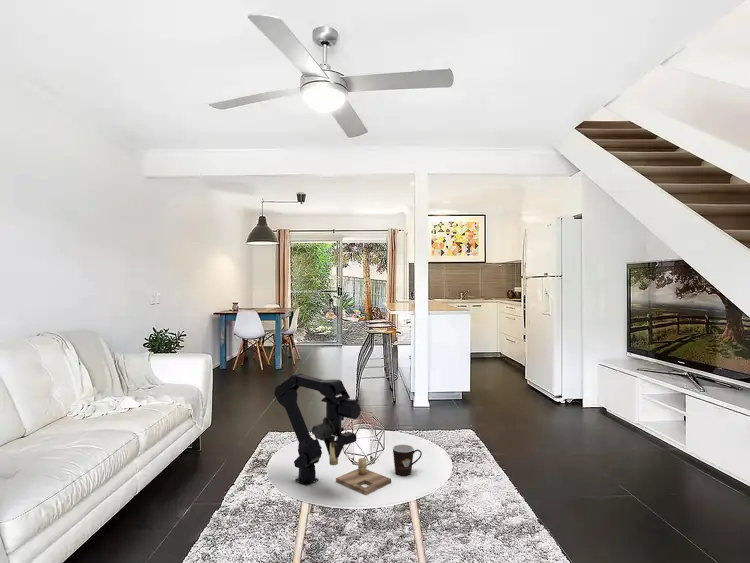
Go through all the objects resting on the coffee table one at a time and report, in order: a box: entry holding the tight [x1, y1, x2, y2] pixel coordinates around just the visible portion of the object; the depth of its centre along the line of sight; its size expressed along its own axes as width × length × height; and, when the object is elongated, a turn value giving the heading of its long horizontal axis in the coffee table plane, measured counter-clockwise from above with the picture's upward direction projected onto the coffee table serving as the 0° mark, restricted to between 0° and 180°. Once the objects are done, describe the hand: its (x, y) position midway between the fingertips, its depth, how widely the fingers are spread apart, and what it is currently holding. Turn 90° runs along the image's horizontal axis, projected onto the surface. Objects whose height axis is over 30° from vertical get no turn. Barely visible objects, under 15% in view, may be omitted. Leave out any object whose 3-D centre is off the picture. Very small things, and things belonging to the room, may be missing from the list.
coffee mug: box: [392, 444, 423, 477], centre depth 186 cm, size 12×9×10 cm
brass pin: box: [328, 441, 339, 466], centre depth 172 cm, size 3×3×8 cm
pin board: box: [335, 457, 392, 496], centre depth 178 cm, size 16×14×7 cm
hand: (333, 456), depth 171 cm, fingers closed on brass pin, 3 cm apart
